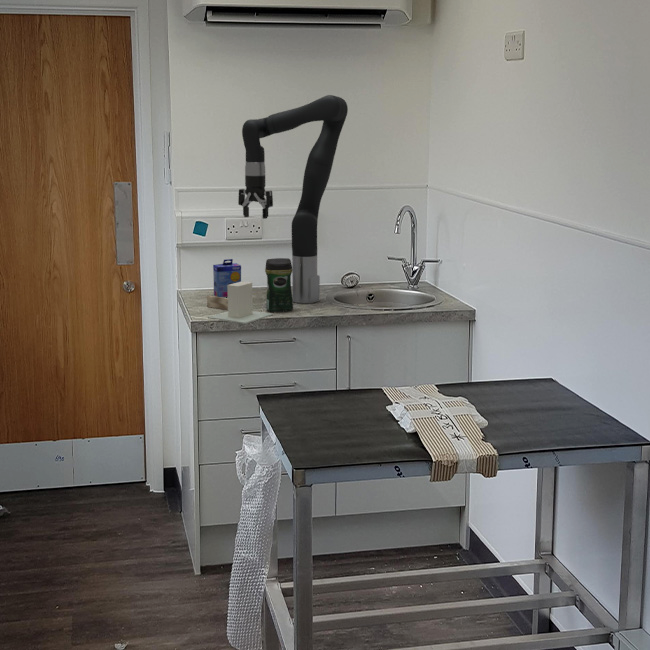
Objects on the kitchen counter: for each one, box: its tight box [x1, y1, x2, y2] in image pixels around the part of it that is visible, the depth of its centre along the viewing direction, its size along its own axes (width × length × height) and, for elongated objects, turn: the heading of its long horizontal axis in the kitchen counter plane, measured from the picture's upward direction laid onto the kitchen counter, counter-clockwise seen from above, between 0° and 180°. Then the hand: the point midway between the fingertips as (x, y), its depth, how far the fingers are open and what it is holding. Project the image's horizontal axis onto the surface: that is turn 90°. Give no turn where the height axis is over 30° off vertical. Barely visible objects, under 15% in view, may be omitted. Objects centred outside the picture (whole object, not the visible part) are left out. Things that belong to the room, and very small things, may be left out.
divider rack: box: [206, 295, 228, 311], centre depth 344 cm, size 10×13×4 cm
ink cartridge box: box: [212, 258, 242, 298], centre depth 359 cm, size 10×6×14 cm, turn 115°
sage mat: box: [207, 310, 274, 325], centre depth 326 cm, size 16×16×1 cm
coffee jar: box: [264, 257, 294, 313], centre depth 334 cm, size 10×8×19 cm
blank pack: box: [227, 280, 254, 318], centre depth 324 cm, size 4×8×11 cm, turn 148°
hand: (255, 217), depth 356 cm, fingers open, 8 cm apart
